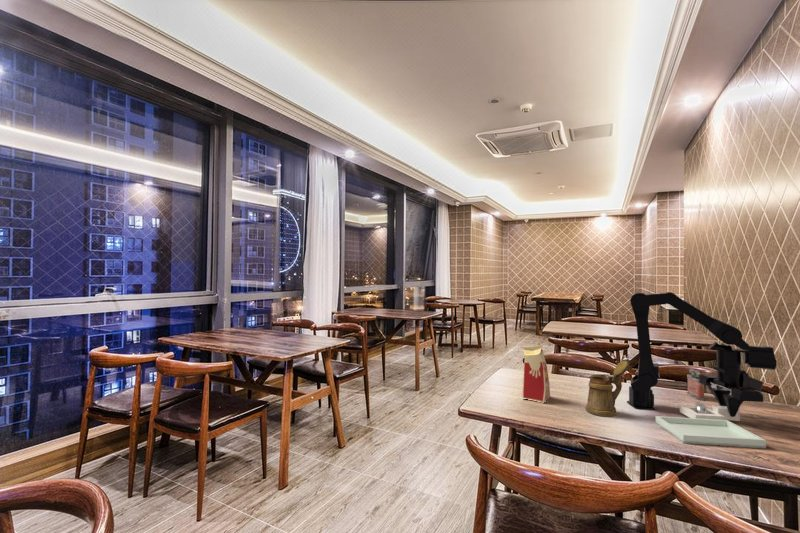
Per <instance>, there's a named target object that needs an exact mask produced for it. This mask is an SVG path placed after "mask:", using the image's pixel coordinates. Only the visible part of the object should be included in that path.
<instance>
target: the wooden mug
mask: <svg viewBox="0 0 800 533" xmlns="http://www.w3.org/2000/svg"><path fill="white" fill-rule="evenodd" d="M630 363H631V362H630V359H629V358H627V359H623V360H621V361H620V362H618V363H617V364H616V366H615V368H614V369H613V374H612V375H609V376H608V377H605V376H600V375H596V376H595V375H592V376H590V379H589V382H588V385H587V386H589V387H588V393H587V394H588V395H587V401H586V404H585V411H586V412H588V413H589V414H592V415H595V416H597V417H604V418H605V417H606V418H609V417H610V418H611V417H612V418H613V417H614V416H616V415H617V408H616V405H615V404H616V400H617V398H618V397H619V394H620V393H621V391H622V387H623V383H622V380H621V378H620V377H622V375H624V374H625V373H626V372H627V371H628V370H629V368H630ZM614 385H615V389H614ZM613 389H614V391H613Z"/></svg>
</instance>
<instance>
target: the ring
mask: <svg viewBox="0 0 800 533" xmlns="http://www.w3.org/2000/svg"><path fill="white" fill-rule="evenodd" d="M711 406H712V407H711V408H712V409H711V408H708V407H707V406H706V414H701V413H696V405H695V406H694V405H693V406H692V405H679V412H680V413H681V414H683V415H685V416H686V417H687V418H699V419H716V420H728V421H738V422H739V421H740V408H739V409H738V411H737V414H736V416H735V417H731V416H730V414H729V411H728V408H727V406H720V405H713V404H712V405H711Z"/></svg>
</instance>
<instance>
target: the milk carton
mask: <svg viewBox="0 0 800 533" xmlns="http://www.w3.org/2000/svg"><path fill="white" fill-rule="evenodd" d="M521 348H522V349H523V353H524V363H523V366H524V367H523V383H522V384H523V386H522V394H521V396H522V395H523V398H526V399H532V400H536V401H540V402H543V403H544V402H545V401H546V400H547V399H548V398H549V397H550V398H551V389H550V388H551V387H550V378H549V371H548V365H547V361H546V358H545V354H544V350H543V344H539V345H533V346H522V347H521ZM523 398H522V399H523ZM550 398H549V399H550ZM549 399H548V400H549ZM548 400H547V401H548ZM547 401H546V402H547ZM546 402H545V403H546ZM543 403H542V404H543ZM545 403H544V404H545Z"/></svg>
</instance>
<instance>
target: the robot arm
mask: <svg viewBox="0 0 800 533" xmlns="http://www.w3.org/2000/svg"><path fill="white" fill-rule="evenodd" d="M629 302H630V305H631V309H632V312H633V315H634V318H635V324H636V334H637V335H636V336H637V344H638V347H637V348H638V354H639V358H638V359H639V360H638V367H637V373H636V374H635V375H634V376H633V377H631V378H630V386H628V400H627V401H626V403H627V404H628V405H630V406H631V407H632V408H634V409H637V410H638V409H639V410H642V409H643V410H656V407H655V394H654V393H653V392H654V391H653V389H651V388H653V387H655V386H657V385H658V382H659V380H660V379H661V377H660V376H661V375H660V373H659V372H660V371H659V370H660V367H659V363H658V362H655V363H654V361H653V357H652V356H653V355H652V347H651V346H652V345H651V338H650V337H651V336H650V335H651V334H650V326H649V314H650V307H651V306H662V305H669V306H671V307H673V308H674V309H676V310H678V312H681V313H682V314H684V315H686V316H687V317H688V318H691V319H692V320H693V321H695V322H696V323H698V324H700V325H701V326H703V327H704V328H705V329H707V330H708V331H709V332H710V333H711V334H712V335H714V336H715V338H717V339H718V341H719V340H720V341H721V343H723V344H719V343H718V342H717V341H714V342H713V343H712V344H710V345H708V348H709V349H710V350H711V351H716V365H713V367H712V368H713V369H712V370H715V371H716V375H714V374H713V375H711V374H701V376H700V377H699V383H701V384H703V385H704V386H707V385H708V384H711V387H708V389H709V390H710V392H711V394H712V396H714V398H715V400H716V402H717V404H718V406H727V408H728V411H729V414H730V416H731V417H735V416H736V414H737V411H738V409H739V410H740V407H741V405H742V404H743V402H751V403H753V402H756V403H764V402H765V401H764V398H765V396H764V394H763V393H762V392H761V391H762V388H763V386H764V383H765V382H764V381H763V380H759V379H757V378H754V377H751V376H749V373H748V372H746V371H745V370H744V369H742V363H743V364H747V367H748V368H751V369H753V368H754V369H761V370H771V371H776V368H777V359H776V355H775V352H774V348H773V347H772V346H766V345H765V346H764V345H763V346H759V345H757V346H756V345H750V344H749V343H747V342H746V341H745V340H744V339H743V333H742V331H741V330H740V329H739V328H737V327H735V326H733V325H731V324H730V323H729V324H728V323H726V322H724V321H722V320H720V319H717V318H716V317H713V316H710V315H709V314H707V313H706V312H703V310H701V309H699V308H697V307H695V306H694V305H692V304H690V303H689V302H687V301H685V300H684V299H682V298H680V297H679V296H678V295H677V294H676V293H674V292H671V291H668V292H663V293H661V292H660V293H648V294H646V293H644V292H635V293H633V294H632V295H631V296H630V300H629ZM733 345H734V346H735V347H738V348H733V347H732V346H733Z"/></svg>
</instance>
